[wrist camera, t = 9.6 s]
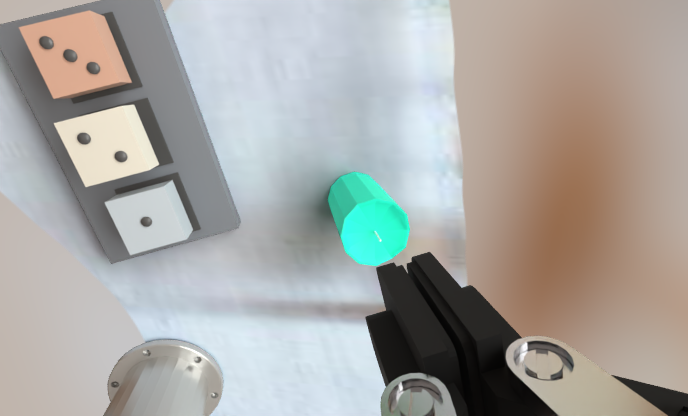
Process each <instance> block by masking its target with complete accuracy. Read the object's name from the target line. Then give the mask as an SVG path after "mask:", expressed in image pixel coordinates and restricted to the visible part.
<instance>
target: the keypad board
mask: <svg viewBox="0 0 688 416" xmlns="http://www.w3.org/2000/svg"><path fill="white" fill-rule="evenodd" d="M89 10H90V11H92V12H95V13H97V14H100V15H102V16H104V17H105V19H106V21H107V24H108V26H109V29H110V31H111V33H112V36H113V38H114V41H115V43H116V45H117V48H118V50H119V53H120V55H121V57H122V60H123V62H124V65H125V67H126V69H127V72H128V74H129V77H130V79H131V81H132V83H129V84H125V85H121V86H117V87H113V88H109V89H105V90H101V91H97V92H93V93H89V94H85V95H81V96H77V97H73V98H63V99H53V97H52V95H51V93H50V91H49V88H48V86H47V84H46V82H45V80H44V78H43V76H42V74H41V72H40V70H39V68H38V66H37V64H36V62H35V60H34V58H33V56H32V54H31V52H30V50H29V48H28V46H27V44H26V42H25V40H24V38H23V36H22V34H21V31H20V29H19V27H22V26H26V25H30V24H35V23H39V22H43V21H47V20H51V19H55V18H60V17H64V16H68V15H72V14H76V13H80V12H85V11H89ZM0 49H1V51H2V53H3V55H4V57H5V59H6V61H7V63H8V65H9V67H10V69H11V71H12V73H13V74H14V76H15V78H16V80H17V82H18V84H19V86H20V88H21V90H22V92H23V94H24V96H25V98H26V100H27V102H28V104H29V106H30V107H31V109H32V111H33V113H34V115H35V117H36V119H37V121H38V123H39V125H40V127H41V129H42V131H43V133H44V135H45V137H46V139H47V140H48V142H49V144H50V146H51V148H52V150H53V152H54V154H55V156H56V158H57V160H58V162H59V164H60V166H61V168H62V170H63V171H64V173H65V175H66V177H67V179H68V181H69V183H70V185H71V187H72V189H73V191H74V193H75V195H76V197H77V199H78V201H79V203H80V204H81V206H82V208H83V210H84V212H85V214H86V216H87V218H88V220H89V222H90V224H91V226H92V228H93V230H94V232H95V234H96V236H97V237H98V239H99V241H100V243H101V245H102V247H103V249H104V251H105V253H106V255H107V257H108V259H109V261H110V263H111V264H112V263H116V262H120V261H123V260H127V259H130V258H134V257H137V256H141V255H144V254H148V253H152V252H155V251H159V250H162V249H166V248H169V247H173V246H176V245H180V244H184V243H187V242H191V241H194V240H198V239H201V238H205V237H209V236H212V235H216V234H219V233H223V232H226V231H230V230H233V229H237V228H239V225H240V222H241V221H240V218H239V215H238V213H237V210H236V207H235V205H234V202H233V199H232V196H231V194H230V191H229V188H228V185H227V183H226V180H225V177H224V174H223V172H222V169H221V166H220V163H219V161H218V158H217V155H216V153H215V150H214V147H213V144H212V142H211V139H210V136H209V133H208V131H207V128H206V125H205V122H204V120H203V117H202V114H201V112H200V109H199V106H198V103H197V101H196V98H195V95H194V92H193V90H192V87H191V84H190V81H189V79H188V76H187V73H186V71H185V68H184V65H183V62H182V60H181V57H180V54H179V51H178V49H177V46H176V43H175V40H174V38H173V35H172V32H171V30H170V27H169V24H168V21H167V19H166V16H165V13H164V10H163V8H162V5H161V3H160V0H101V1H96V2H92V3H88V4H84V5H80V6H75V7H71V8H67V9H63V10H59V11H54V12H50V13H46V14H42V15H38V16H33V17H29V18H25V19H21V20H17V21H12V22H8V23H4V24H0ZM126 105H134V106H135V108H136V110H137V113H138V115H139V117H140V120H141V122H142V125H143V127H144V129H145V132H146V134H147V136H148V139H149V141H150V144H151V146H152V148H153V151H154V153H155V155H156V158H157V160H158V162H159V165H158V166H156V167H154V168H152V169H151V170H148V171H144V172H141V173H137V174H133V175H129V176H126V177H122V178H118V179H115V180H111V181H107V182H103V183H100V184H96V185H92V186H88V187H85V185H84V183H83V181H82V179H81V177H80V175H79V173H78V171H77V169H76V167H75V165H74V163H73V161H72V159H71V157H70V155H69V153H68V151H67V149H66V147H65V145H64V143H63V141H62V139H61V137H60V135H59V133H58V131H57V129H56V127H55V125H54V123H57V122H61V121H65V120H69V119H73V118H76V117H80V116H84V115H88V114H92V113H96V112H100V111H104V110H108V109H112V108H116V107H119V106H126ZM170 180H173V183H174V185H175V187H176V190H177V192H178V195H179V197H180V199H181V202H182V204H183V207H184V209H185V211H186V214H187V216H188V219H189V221H190V223H191V226H192V228H193V231H192V232H191V234H190V235H189V237H188V238H187V239H186V240H183V241H179V242H176V243H172V244H168V245H165V246H161V247H158V248H154V249H151V250H147V251H143V252H140V253H136V254H133V255H130V254H129V252H128V250H127V248H126V245H125V243H124V241H123V239H122V237H121V235H120V233H119V231H118V229H117V227H116V225H115V223H114V221H113V219H112V217H111V215H110V213H109V211H108V209H107V207H106V205H105V203H104V202H106V201H107V200H109V199H111V198H112V197H114V196H116V195H118V194H122V193H125V192H129V191H133V190H137V189H140V188H144V187H148V186H151V185H155V184H159V183H162V182H166V181H170Z"/></svg>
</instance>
